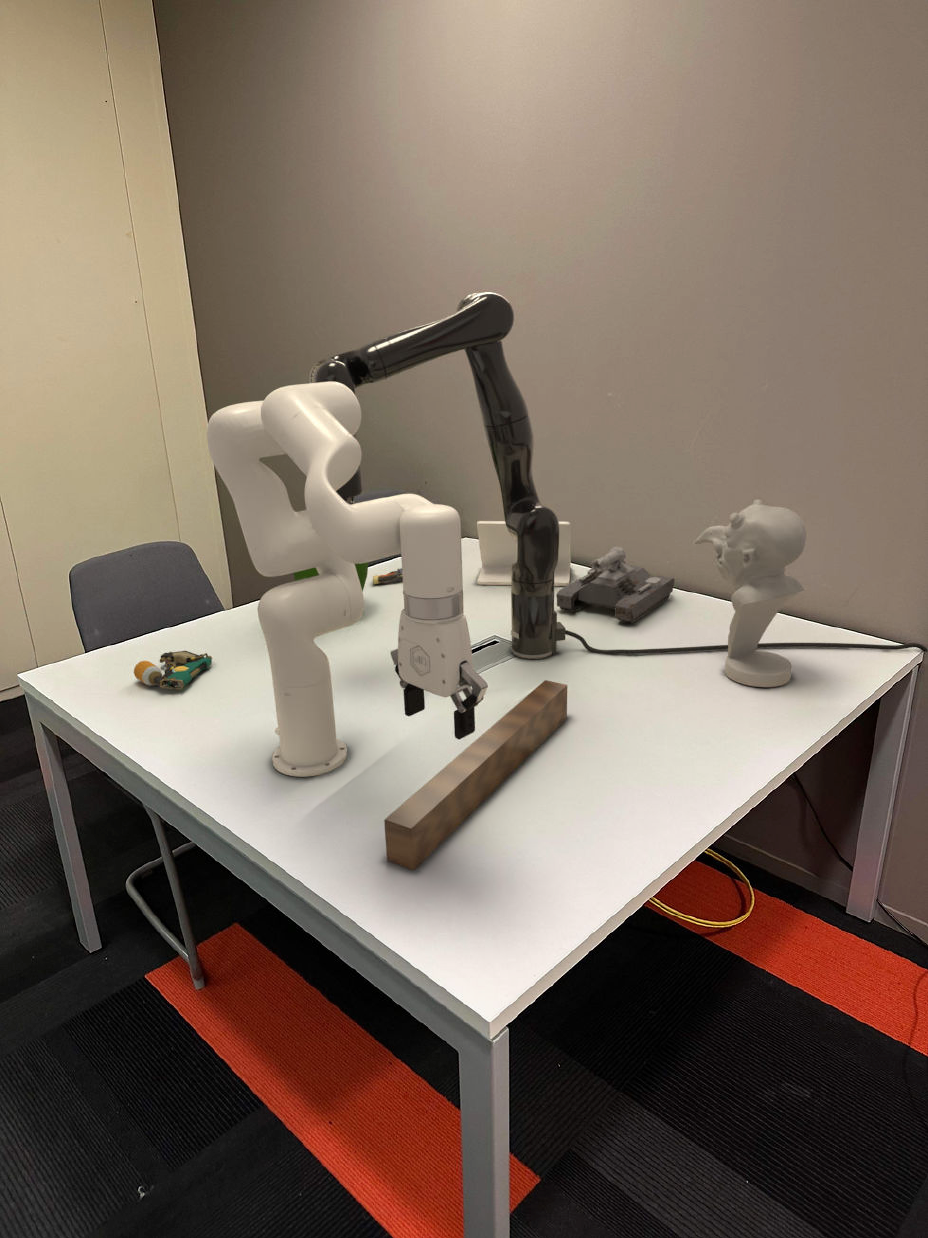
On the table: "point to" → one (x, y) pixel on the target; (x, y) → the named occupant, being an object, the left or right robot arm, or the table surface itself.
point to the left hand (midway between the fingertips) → (439, 723)
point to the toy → (616, 588)
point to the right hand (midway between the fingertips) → (348, 552)
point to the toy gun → (387, 576)
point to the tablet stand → (514, 554)
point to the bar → (472, 776)
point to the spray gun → (172, 669)
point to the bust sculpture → (757, 585)
